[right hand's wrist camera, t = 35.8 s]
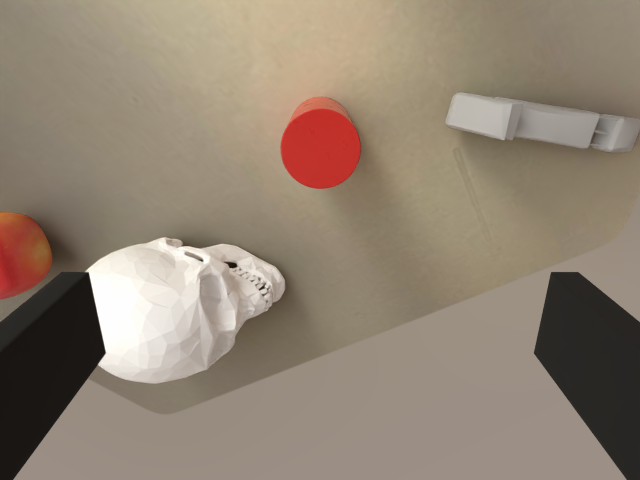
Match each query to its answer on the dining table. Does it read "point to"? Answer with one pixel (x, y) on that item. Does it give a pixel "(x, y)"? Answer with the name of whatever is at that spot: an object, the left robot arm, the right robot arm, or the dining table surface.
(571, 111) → the grey segmented long block
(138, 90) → the dining table surface
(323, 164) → the canister
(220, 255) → the skull
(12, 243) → the apple
